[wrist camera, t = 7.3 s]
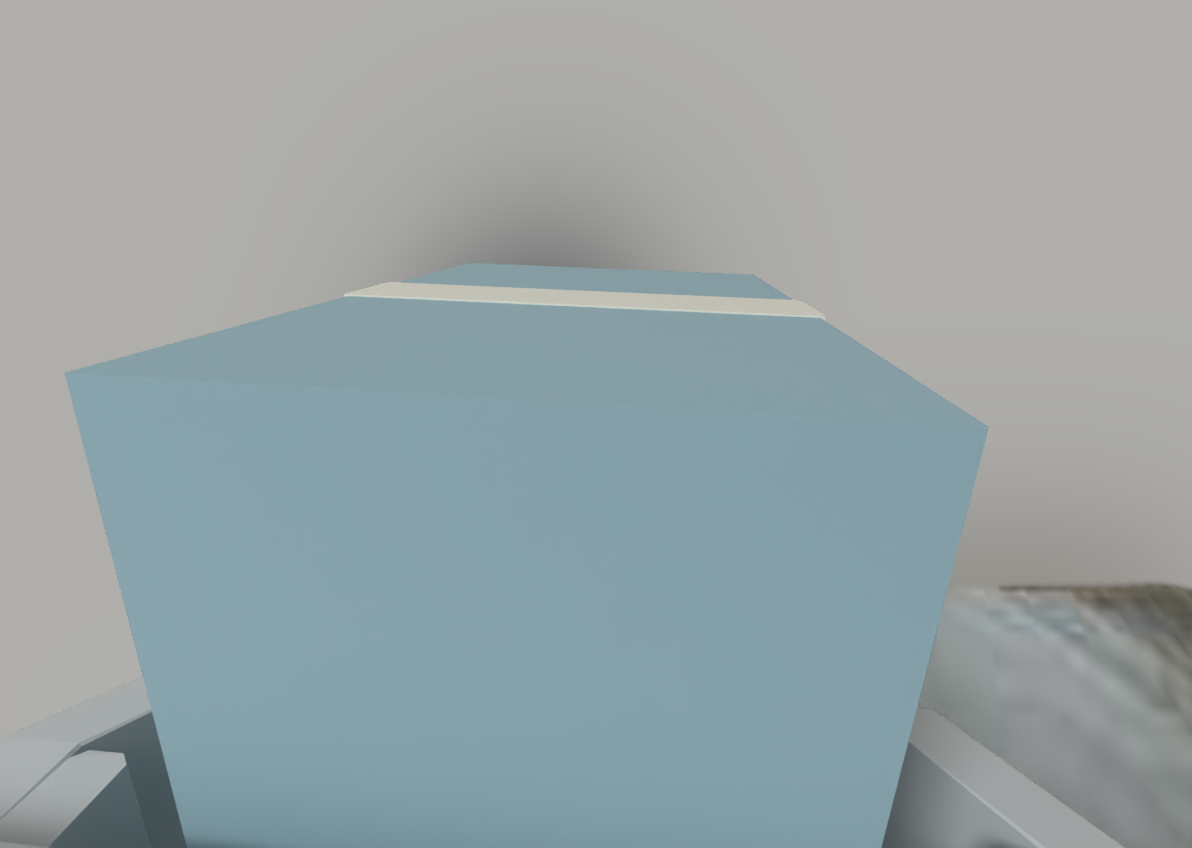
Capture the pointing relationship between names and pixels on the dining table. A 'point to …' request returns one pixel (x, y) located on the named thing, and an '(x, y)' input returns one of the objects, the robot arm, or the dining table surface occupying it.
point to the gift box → (530, 563)
